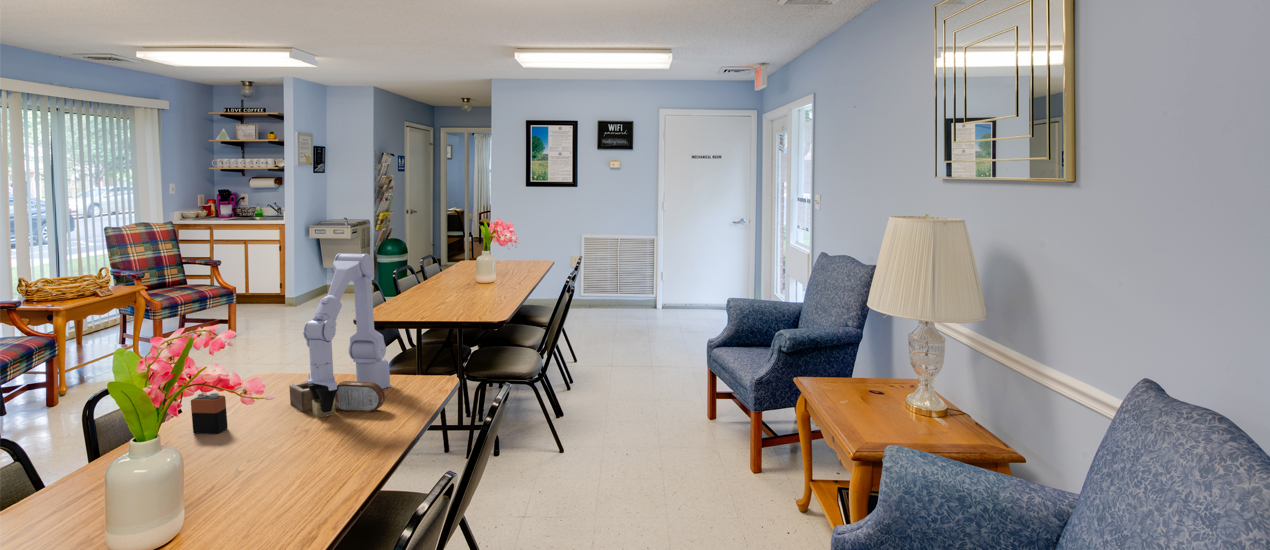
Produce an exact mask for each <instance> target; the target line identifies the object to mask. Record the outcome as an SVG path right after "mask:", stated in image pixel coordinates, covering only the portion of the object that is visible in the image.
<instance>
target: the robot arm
mask: <svg viewBox="0 0 1270 550" xmlns="http://www.w3.org/2000/svg"><path fill="white" fill-rule="evenodd" d="M332 270H333V271H334V274H333V277H332V280H331V284H330V286H329V289H328V292H327V295H326V296H324V297H322V298H321V299H320V301H319V303H318V306H317V308H316V310H315V313H314V314H313V317H312V319H310V320H309V321H307V322H306V323H305V325H304V328H303V332H302V333H303V338H304V339H305V342H306V346H307V347H308V349H309V350H308V351H309V353H308V354H309V366H310V367H309V369H310V372H309V373H308V379H306V382H307V383H309V384H308V385H307V387H308V388H309V390H310V391H311V393H312V396H313V398H314V400H315V399H320V401H321V406H322V410H323V412H324V413H325V412H330V411H332V407H333V402H334V398H335V395H336V393H337V391H338V389H339V387H338V386H337V385H338V383H337V382H336V378H335V375H334V365H333V364H334V363H333V359H334V358H333V345H332V344H333V343H332V342H333V341H332V340H333V339H334V337H335V336H336V333H337V329H336V327H337V322H336V320H337V318H338V316H339V313H340V311H341V309H342V306H343V305H342V303H341V299H342V297H343V295H344V293H345V291H346V290H347V288H348V286H349V284H350V282H351V281H352V282H353V289H354V290H353V291H354V307H355V321H356V322H355V325H356V327H355V328H356V332H355V333H353V334H352V335H351V336H350V337H349V345H348V355H349V357H350V358H351V359H352V360H353V363H355V371H356V372H355V374H356V375H355V376H356V377H355V378H356V381H358V382H373V383H376V384H378V385H379V386H380V387H381V388H382V389H383V390H384V389H387V387H388V388H392V385H391V380H390V379H391V377H390V376H391V375H390V364H389V361H388V360H387V359H386V358H384V357H385V356H386V352H387V346H386V343H385V339H384V335H383V334H382V333H381V332H379V331H378V330H376V329H375V319H374V318H375V317H374V316H375V315H374V299H373V283H372V280H373V279H374V278H375V262H374V258H373V256H371V254H369V253H342V252H339V253H337V254H336V255H335V257H334V259H333V263H332ZM311 383H312V384H311Z"/></svg>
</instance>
